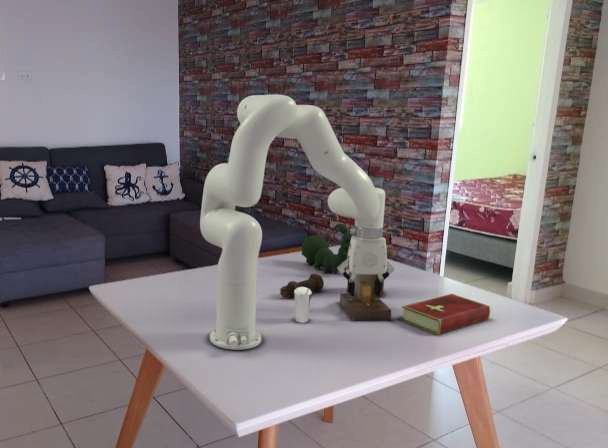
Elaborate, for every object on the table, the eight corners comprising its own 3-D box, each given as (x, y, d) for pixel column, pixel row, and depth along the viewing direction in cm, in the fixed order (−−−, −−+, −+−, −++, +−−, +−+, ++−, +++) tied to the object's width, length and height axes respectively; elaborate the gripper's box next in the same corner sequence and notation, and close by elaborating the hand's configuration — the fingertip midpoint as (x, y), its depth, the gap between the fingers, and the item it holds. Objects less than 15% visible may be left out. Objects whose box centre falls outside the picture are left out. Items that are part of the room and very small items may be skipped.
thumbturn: (370, 302, 156) (371, 286, 155) (362, 302, 156) (364, 286, 155) (364, 296, 161) (365, 281, 160) (357, 296, 161) (358, 281, 160)
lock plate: (390, 320, 151) (391, 309, 151) (353, 320, 151) (354, 309, 150) (373, 302, 165) (374, 292, 164) (339, 302, 165) (340, 292, 164)
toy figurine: (356, 280, 192) (309, 257, 213) (363, 227, 187) (314, 208, 207) (335, 284, 187) (289, 260, 208) (342, 229, 182) (294, 210, 203)
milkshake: (298, 325, 147) (300, 289, 145) (290, 318, 152) (291, 282, 150) (314, 323, 148) (316, 287, 146) (305, 316, 153) (307, 281, 151)
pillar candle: (390, 295, 171) (393, 248, 168) (363, 299, 168) (366, 250, 165) (369, 286, 180) (373, 240, 177) (344, 289, 177) (347, 243, 173)
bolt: (280, 303, 168) (315, 292, 177) (291, 299, 164) (326, 288, 173) (274, 285, 170) (309, 275, 178) (284, 280, 166) (319, 271, 174)
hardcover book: (489, 320, 152) (491, 305, 151) (439, 335, 142) (440, 319, 141) (450, 306, 162) (451, 292, 161) (400, 319, 152) (402, 305, 151)
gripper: (340, 235, 150) (337, 299, 154) (404, 235, 151) (399, 299, 155) (333, 229, 158) (330, 290, 161) (394, 229, 158) (389, 290, 162)
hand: (364, 294), depth 158 cm, fingers open, 6 cm apart
